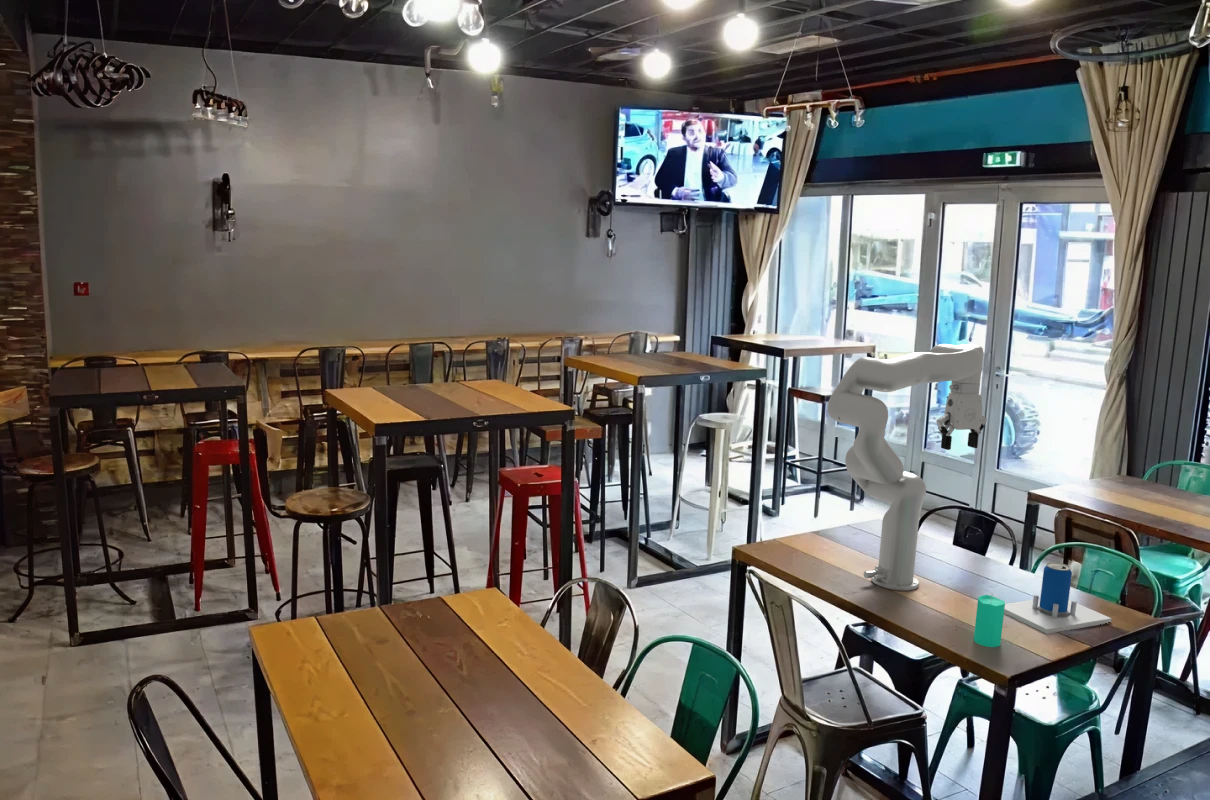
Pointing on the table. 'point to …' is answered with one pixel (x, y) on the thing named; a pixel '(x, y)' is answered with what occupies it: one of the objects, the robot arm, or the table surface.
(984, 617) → the candle
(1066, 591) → the beverage can
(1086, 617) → the pin tray
